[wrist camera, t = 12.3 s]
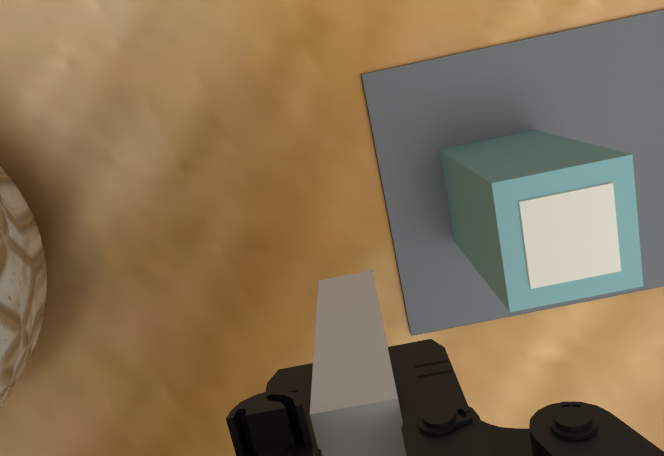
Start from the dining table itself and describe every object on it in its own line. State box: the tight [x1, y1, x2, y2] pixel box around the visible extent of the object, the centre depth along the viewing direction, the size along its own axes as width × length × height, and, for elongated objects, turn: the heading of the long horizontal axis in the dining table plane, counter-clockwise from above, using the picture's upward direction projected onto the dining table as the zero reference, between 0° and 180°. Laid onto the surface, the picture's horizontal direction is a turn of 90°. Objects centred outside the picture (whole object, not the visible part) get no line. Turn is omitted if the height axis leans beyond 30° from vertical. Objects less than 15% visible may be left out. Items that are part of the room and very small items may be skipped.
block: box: [439, 130, 643, 312], centre depth 24 cm, size 4×4×9 cm
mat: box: [361, 10, 664, 336], centre depth 28 cm, size 17×13×1 cm
